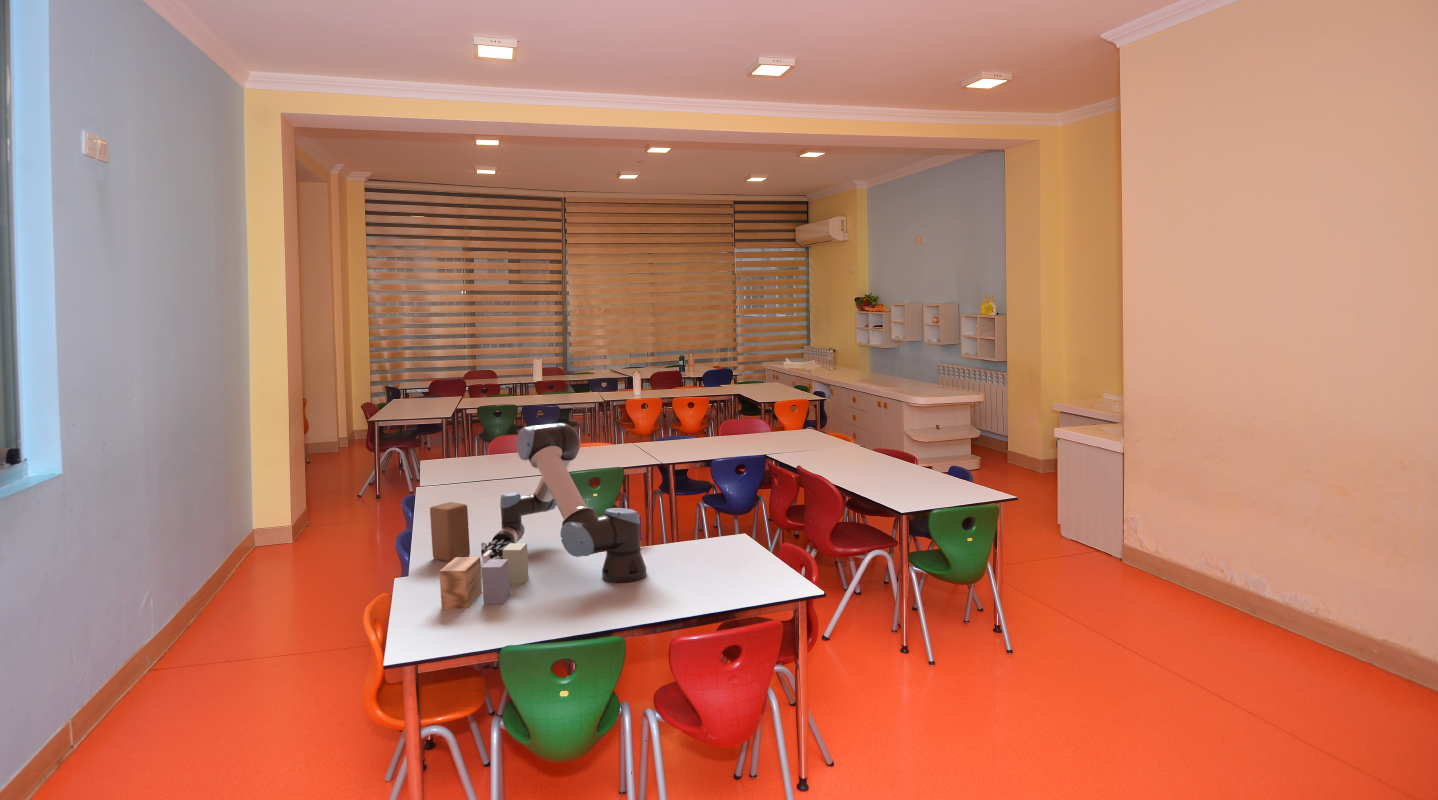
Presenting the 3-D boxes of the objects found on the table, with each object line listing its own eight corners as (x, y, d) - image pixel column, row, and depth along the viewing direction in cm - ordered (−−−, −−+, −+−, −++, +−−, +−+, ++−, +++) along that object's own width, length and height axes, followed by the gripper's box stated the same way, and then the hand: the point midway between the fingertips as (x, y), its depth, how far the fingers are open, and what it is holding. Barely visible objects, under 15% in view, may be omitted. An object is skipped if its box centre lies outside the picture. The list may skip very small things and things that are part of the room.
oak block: (482, 592, 255) (480, 556, 254) (467, 608, 241) (465, 570, 240) (457, 593, 255) (455, 557, 254) (441, 608, 241) (439, 571, 240)
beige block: (528, 577, 270) (526, 543, 268) (522, 584, 262) (520, 549, 261) (511, 577, 270) (509, 543, 269) (504, 585, 262) (502, 550, 261)
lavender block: (510, 595, 252) (508, 559, 251) (502, 604, 244) (500, 567, 243) (491, 595, 252) (489, 559, 251) (483, 604, 244) (481, 567, 243)
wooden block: (471, 555, 296) (468, 503, 294) (449, 563, 288) (446, 509, 286) (453, 552, 301) (450, 501, 299) (431, 559, 293) (428, 506, 291)
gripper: (522, 549, 294) (503, 569, 271) (488, 550, 295) (466, 570, 271) (521, 530, 294) (502, 548, 270) (486, 530, 294) (465, 549, 270)
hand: (484, 559), depth 271 cm, fingers closed
